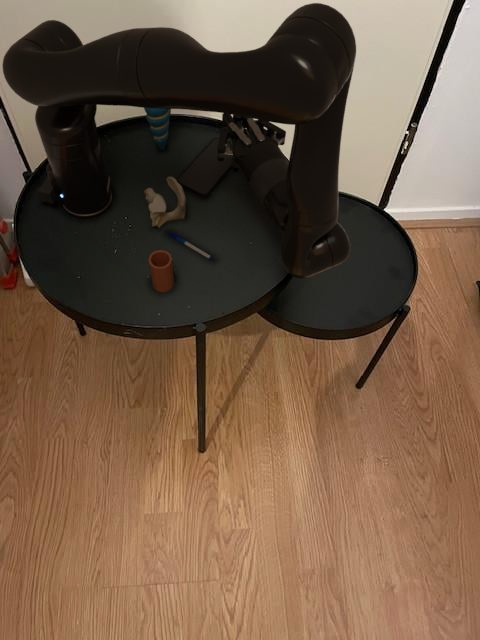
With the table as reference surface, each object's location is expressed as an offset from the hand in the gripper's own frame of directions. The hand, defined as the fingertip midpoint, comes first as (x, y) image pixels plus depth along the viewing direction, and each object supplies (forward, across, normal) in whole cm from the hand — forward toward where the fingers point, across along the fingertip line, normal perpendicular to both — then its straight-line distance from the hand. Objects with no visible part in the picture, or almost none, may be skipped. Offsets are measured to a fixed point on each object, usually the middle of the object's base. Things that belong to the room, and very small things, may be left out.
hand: (231, 112), depth 101 cm
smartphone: (0, +4, +13) cm, 13 cm away
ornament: (+9, +12, +13) cm, 19 cm away
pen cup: (-23, +22, +13) cm, 34 cm away
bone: (-9, +17, +13) cm, 23 cm away
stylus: (-3, 0, +12) cm, 12 cm away
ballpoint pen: (-17, +15, +13) cm, 26 cm away
